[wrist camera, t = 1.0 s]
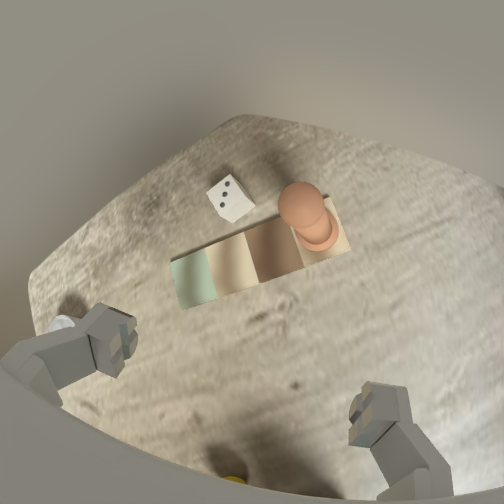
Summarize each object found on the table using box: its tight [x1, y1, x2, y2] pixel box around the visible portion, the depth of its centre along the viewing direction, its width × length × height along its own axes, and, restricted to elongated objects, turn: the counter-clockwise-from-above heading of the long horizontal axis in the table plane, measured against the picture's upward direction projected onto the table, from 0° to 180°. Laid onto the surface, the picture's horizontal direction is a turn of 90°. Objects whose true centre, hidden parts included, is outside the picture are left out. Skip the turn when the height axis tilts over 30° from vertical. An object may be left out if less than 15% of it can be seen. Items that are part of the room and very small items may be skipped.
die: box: [206, 174, 256, 223], centre depth 41 cm, size 4×4×4 cm
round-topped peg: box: [278, 182, 339, 252], centre depth 31 cm, size 5×5×13 cm
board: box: [170, 197, 351, 310], centre depth 40 cm, size 24×7×1 cm, turn 107°
